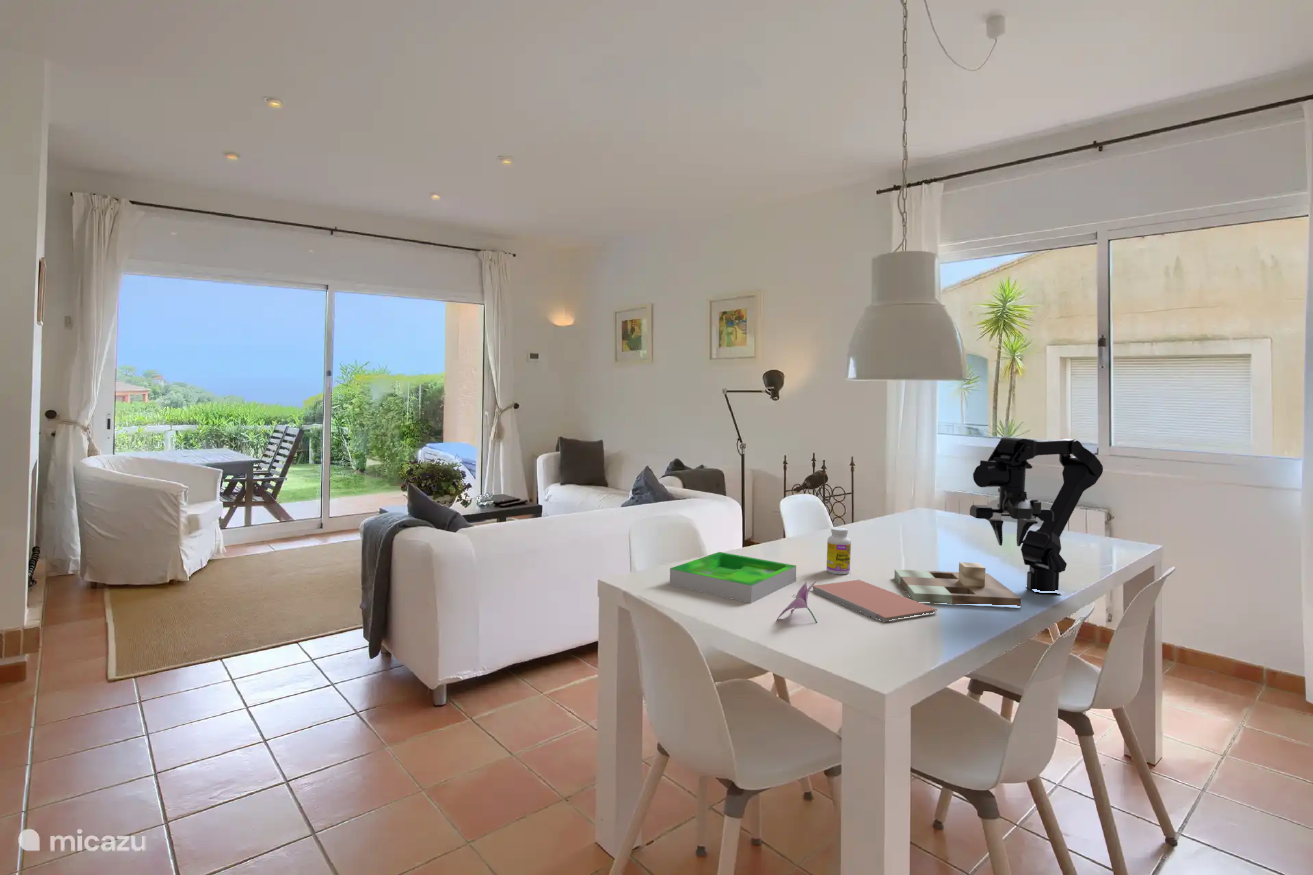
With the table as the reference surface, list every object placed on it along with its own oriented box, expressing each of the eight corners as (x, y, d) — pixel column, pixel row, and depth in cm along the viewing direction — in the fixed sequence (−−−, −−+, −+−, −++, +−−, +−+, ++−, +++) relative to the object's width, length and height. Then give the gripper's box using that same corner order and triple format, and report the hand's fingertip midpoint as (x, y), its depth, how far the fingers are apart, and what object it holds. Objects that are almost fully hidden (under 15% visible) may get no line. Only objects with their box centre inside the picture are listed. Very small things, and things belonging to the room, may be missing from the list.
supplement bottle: (833, 575, 192) (835, 531, 191) (822, 569, 198) (823, 526, 197) (854, 574, 194) (855, 530, 193) (842, 568, 200) (843, 525, 199)
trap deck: (987, 582, 187) (988, 573, 186) (1020, 608, 164) (1021, 598, 164) (894, 578, 190) (894, 569, 190) (914, 602, 167) (914, 593, 167)
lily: (816, 614, 161) (797, 578, 162) (846, 609, 151) (825, 570, 152) (779, 638, 155) (760, 600, 157) (807, 634, 145) (786, 593, 146)
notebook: (808, 592, 177) (808, 585, 177) (858, 585, 184) (859, 578, 183) (881, 625, 152) (881, 617, 152) (937, 616, 159) (937, 608, 159)
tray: (751, 605, 166) (751, 585, 165) (669, 586, 181) (669, 568, 180) (795, 583, 186) (796, 565, 185) (718, 568, 201) (719, 551, 200)
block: (978, 581, 178) (978, 562, 178) (984, 586, 173) (985, 567, 173) (958, 580, 179) (959, 562, 179) (964, 585, 174) (965, 566, 174)
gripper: (984, 489, 166) (982, 551, 167) (1065, 491, 164) (1062, 554, 165) (970, 483, 177) (967, 541, 178) (1045, 485, 175) (1042, 544, 176)
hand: (1009, 545), depth 174 cm, fingers open, 4 cm apart
